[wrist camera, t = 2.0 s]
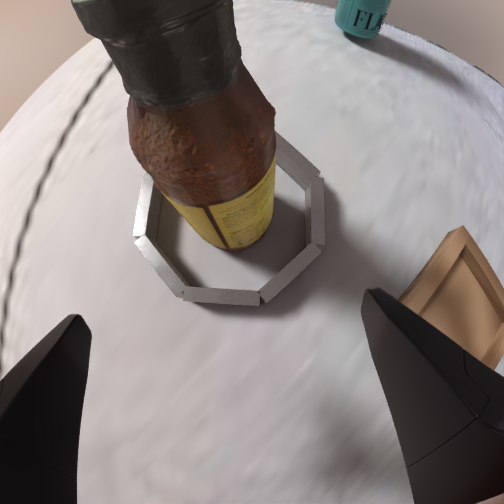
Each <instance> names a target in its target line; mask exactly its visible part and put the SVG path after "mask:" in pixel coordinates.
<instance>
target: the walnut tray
mask: <svg viewBox="0 0 504 504" xmlns="http://www.w3.org/2000/svg"><path fill="white" fill-rule="evenodd" d="M398 301H400V302H401V303H403V304H404V305H405V306H407V307H408V308H410V309H411V310H412V311H414V312H415V313H417V314H418V315H419V316H421V317H422V318H424V319H425V320H426V321H428V322H429V323H430V324H432V325H433V326H434V327H436V328H437V329H439V330H440V331H441V332H443V333H444V334H445V335H447V336H448V337H449V338H451V339H452V340H453V341H455V342H456V343H457V344H459V345H460V346H461V347H462V348H463V349H465V350H467V351H468V352H469V353H470V354H472V355H473V356H474V357H476V358H477V359H478V360H480V361H481V362H482V363H484V364H485V365H487V366H488V367H490V368H491V369H493V370H495V368H496V366H497V365H498V363H499V361H500V360H501V358H502V356H503V354H504V288H503V286H502V285H501V283H500V281H499V279H498V278H497V276H496V274H495V272H494V271H493V269H492V267H491V266H490V264H489V263H488V261H487V259H486V258H485V256H484V255H483V253H482V252H481V250H480V249H479V247H478V246H477V244H476V243H475V241H474V240H473V238H472V237H471V235H470V234H469V232H468V231H467V230H466V228H465V227H464V226H461V227H459V228H457V229H454V230H452V231H450V232H448V234H447V235H446V237H445V238H444V240H443V241H442V243H441V244H440V245H439V247H438V248H437V250H436V251H435V253H434V254H433V255H432V257H431V258H430V260H429V261H428V262H427V264H426V265H425V266H424V268H423V269H422V270H421V272H420V273H419V274H418V276H417V277H416V278H415V280H414V281H413V282H412V283H411V285H410V286H409V287H408V288H407V290H406V291H405V292H404V293H403V295H402V296H401V297H400V298H399V299H398Z"/></svg>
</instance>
